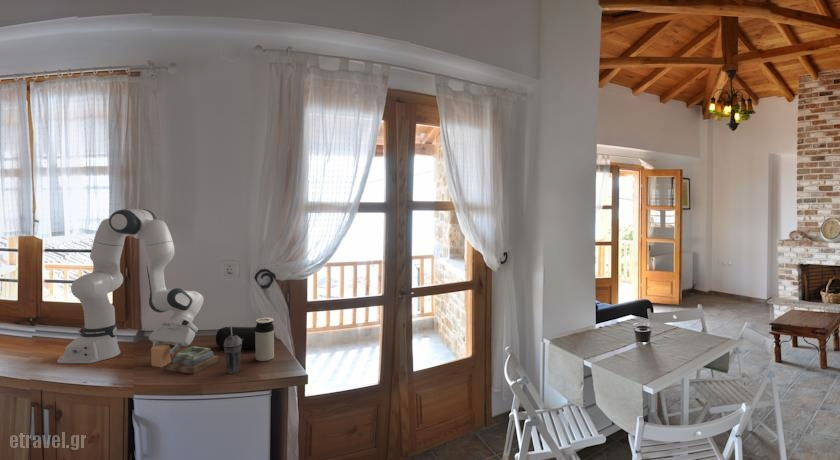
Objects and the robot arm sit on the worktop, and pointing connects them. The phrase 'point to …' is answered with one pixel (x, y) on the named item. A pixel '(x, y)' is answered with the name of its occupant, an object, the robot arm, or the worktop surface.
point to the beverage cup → (232, 352)
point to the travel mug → (264, 339)
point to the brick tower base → (193, 368)
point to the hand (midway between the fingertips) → (161, 352)
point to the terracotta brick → (160, 355)
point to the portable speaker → (243, 332)
